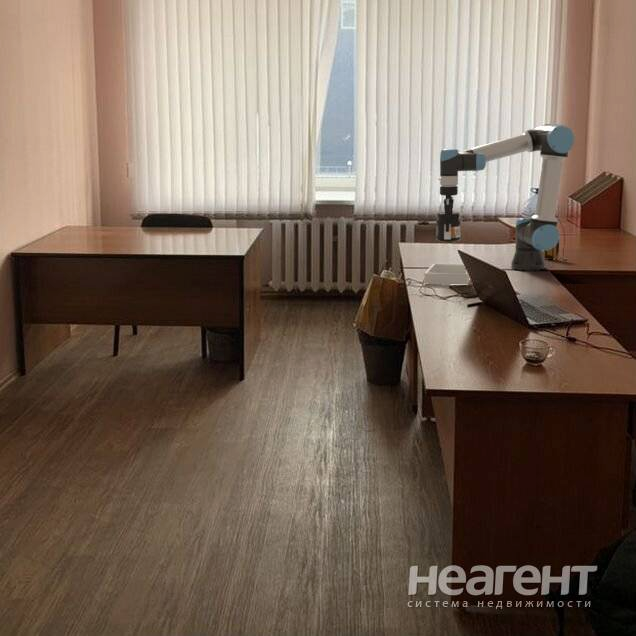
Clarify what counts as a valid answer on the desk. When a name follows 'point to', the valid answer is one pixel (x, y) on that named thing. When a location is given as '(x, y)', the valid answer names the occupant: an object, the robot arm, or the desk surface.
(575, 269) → the desk surface
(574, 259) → the desk surface
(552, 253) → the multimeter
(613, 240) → the desk surface
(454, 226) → the supplement container
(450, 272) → the block
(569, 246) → the desk surface
